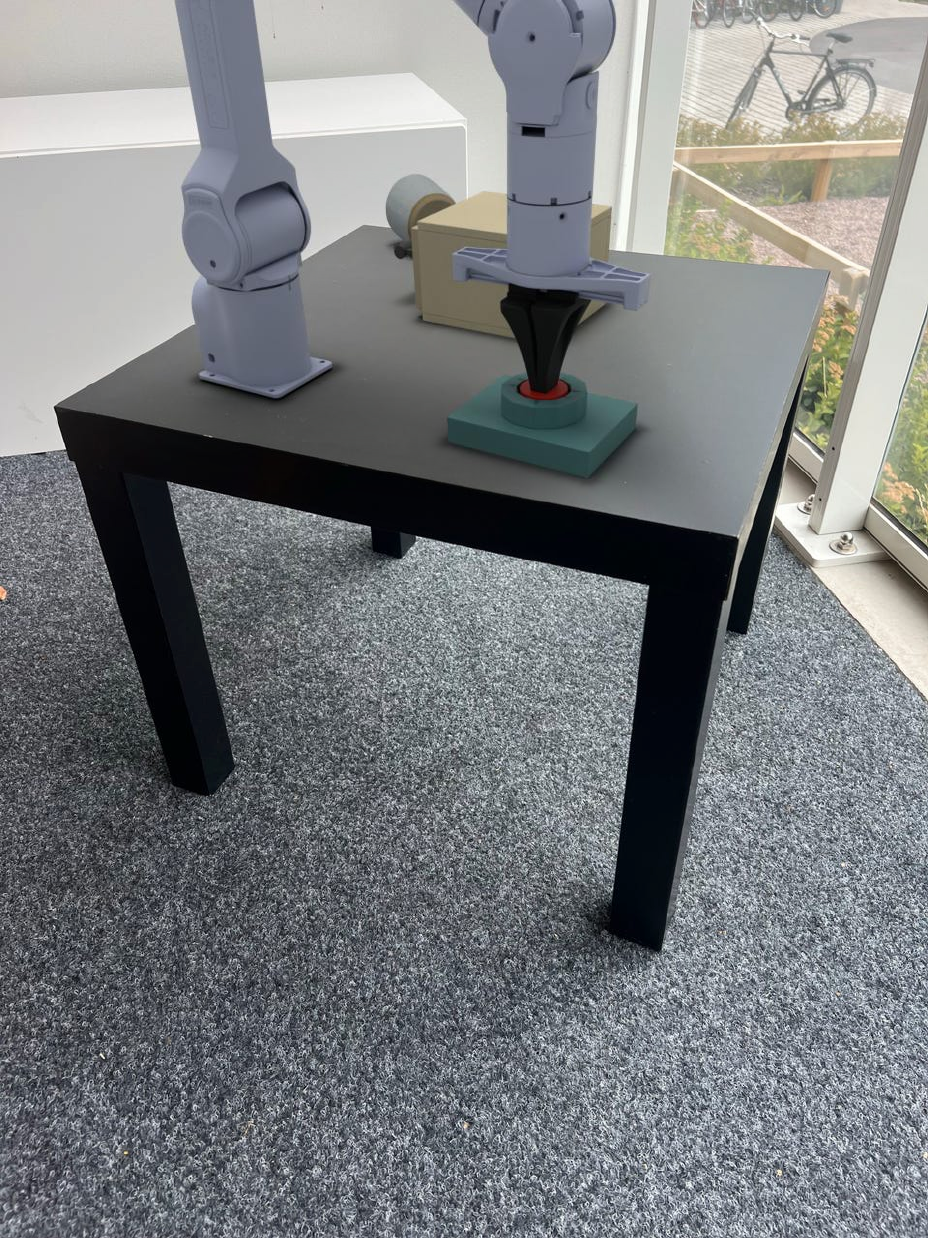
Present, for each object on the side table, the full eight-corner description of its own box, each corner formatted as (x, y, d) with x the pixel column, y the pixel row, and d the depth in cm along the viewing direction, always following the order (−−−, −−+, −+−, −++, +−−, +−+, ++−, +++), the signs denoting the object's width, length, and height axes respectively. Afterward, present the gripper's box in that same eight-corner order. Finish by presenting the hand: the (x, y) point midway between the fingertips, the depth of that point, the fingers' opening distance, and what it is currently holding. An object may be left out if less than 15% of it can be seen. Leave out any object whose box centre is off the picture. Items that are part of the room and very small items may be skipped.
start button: (511, 412, 68) (511, 391, 67) (533, 395, 70) (533, 374, 69) (553, 422, 66) (554, 401, 65) (574, 404, 69) (575, 382, 68)
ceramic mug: (410, 261, 105) (406, 191, 101) (386, 243, 111) (382, 176, 107) (490, 249, 109) (490, 181, 104) (463, 232, 115) (462, 167, 110)
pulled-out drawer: (382, 301, 92) (375, 222, 87) (440, 270, 100) (437, 195, 95) (532, 330, 85) (534, 245, 80) (583, 294, 92) (587, 214, 87)
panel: (448, 442, 69) (445, 394, 67) (503, 398, 75) (503, 353, 73) (587, 479, 64) (590, 428, 62) (635, 428, 70) (640, 381, 68)
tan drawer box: (422, 320, 90) (416, 220, 84) (484, 283, 98) (483, 190, 92) (550, 345, 84) (554, 240, 78) (605, 304, 92) (612, 205, 86)
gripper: (675, 192, 58) (653, 386, 67) (485, 172, 65) (487, 352, 73) (633, 218, 54) (616, 423, 62) (433, 194, 60) (442, 384, 68)
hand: (544, 387), depth 67 cm, fingers closed, pressing on start button
